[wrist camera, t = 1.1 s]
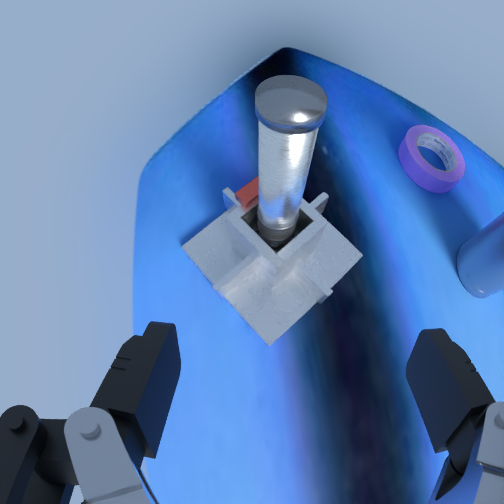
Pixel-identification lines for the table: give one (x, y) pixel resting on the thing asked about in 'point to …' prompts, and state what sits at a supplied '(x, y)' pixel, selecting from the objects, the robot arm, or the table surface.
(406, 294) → the table surface
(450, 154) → the masking tape
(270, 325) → the jack base
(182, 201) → the table surface
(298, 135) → the cylinder
